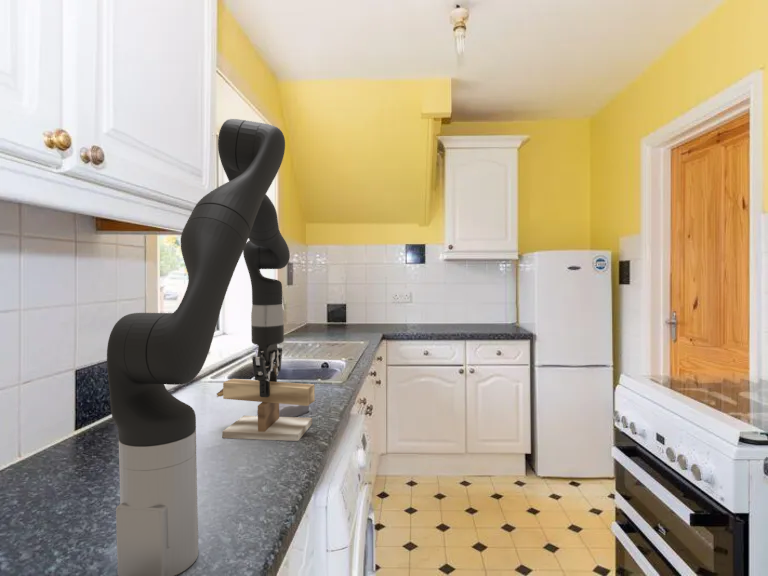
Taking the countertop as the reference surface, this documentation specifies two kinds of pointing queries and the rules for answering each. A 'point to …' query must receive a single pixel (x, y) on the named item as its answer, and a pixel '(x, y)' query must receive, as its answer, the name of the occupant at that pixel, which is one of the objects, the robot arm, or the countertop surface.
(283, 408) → the stone block
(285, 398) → the oak batten
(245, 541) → the countertop surface
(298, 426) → the stand
